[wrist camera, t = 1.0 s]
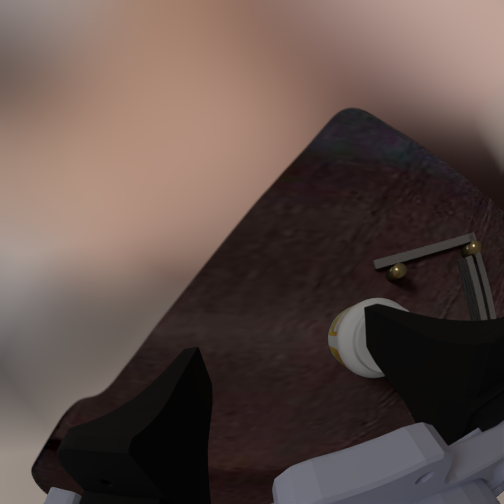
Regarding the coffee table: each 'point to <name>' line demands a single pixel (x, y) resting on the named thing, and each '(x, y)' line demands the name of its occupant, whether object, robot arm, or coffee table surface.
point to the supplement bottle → (355, 338)
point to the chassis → (465, 270)
